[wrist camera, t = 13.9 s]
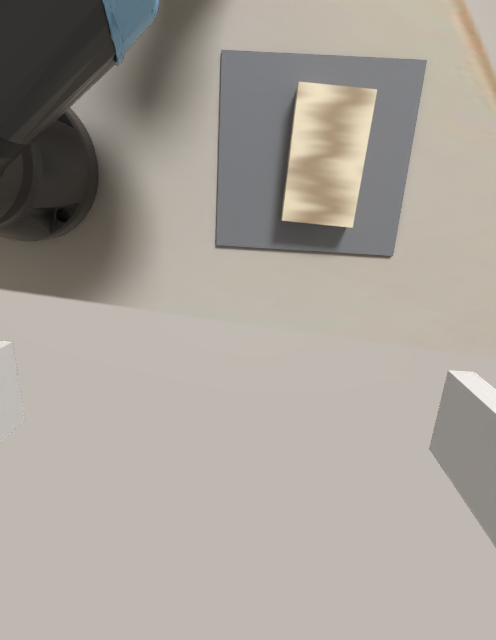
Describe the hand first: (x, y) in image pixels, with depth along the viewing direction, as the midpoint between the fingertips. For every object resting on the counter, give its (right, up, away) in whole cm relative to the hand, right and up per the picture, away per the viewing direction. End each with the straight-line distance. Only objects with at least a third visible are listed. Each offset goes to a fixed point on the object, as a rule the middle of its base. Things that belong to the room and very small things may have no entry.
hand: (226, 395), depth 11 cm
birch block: (+8, +12, +26) cm, 30 cm away
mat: (+7, +18, +26) cm, 33 cm away
